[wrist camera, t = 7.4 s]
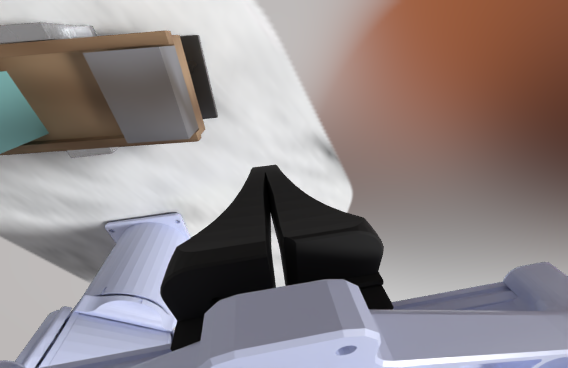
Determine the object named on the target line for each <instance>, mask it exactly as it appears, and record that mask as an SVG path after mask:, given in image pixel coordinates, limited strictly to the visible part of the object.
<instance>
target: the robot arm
mask: <svg viewBox="0 0 568 368" xmlns="http://www.w3.org/2000/svg"><path fill="white" fill-rule="evenodd" d="M270 212H271V214H270ZM271 216H272V220H273V224H274V228H275V232H276V236H277V239H278V243H279V248H280V253H281V259H282V266H283V272H284V279H285V286H283V287H277V288H276V284H275V276H274V268H273V260H272V250H271ZM176 220H179V221H176ZM105 229H106V230H107V232H108V233H109V234H110V236H111V237H112V238H113V240H114V241H115V243H116V245H115V246H114V248H113V249H112V251H111V253H110V254H109V256H108V257H107V259H106V260H105V262H104V264H103V265H102V267H101V268H100V270H99V271H98V273H97V274H96V276H95V278H94V279H93V281H92V282H91V284H90V285H89V287H88V289H87V290H86V292H85V293H84V295H83V296H82V298H81V299H80V301H79V302H78V303H77V305H76V306H75V307H74V309H73V310H72V311H71V309H72V308H71V307H67V306H64V307H62V308H61V309H60V310H56V311H54V312H52V313H50V314H49V315H48V316H47V317H46V319H45V320H44V322H43V323H42V324H41V326H40V327H39V328H38V330H37V331H36V333H35V334H34V335H33V337H32V338H31V340H30V341H29V342H28V344H27V345H26V347H25V348H24V349H23V351H22V352H21V354H20V355H19V356H18V358H17V359H16V360H15V362H14V361H6V360H3V361H0V368H568V276H567V275H565V274H564V273H563V272H561V271H560V270H559V269H557V268H556V267H554V266H553V265H552V264H550V263H549V262H541V263H535V264H530V265H525V266H520V267H517V268H514V269H513V270H511V271H510V272H509V273H508V274H507V275H506V276H505V278H504V280H503V282H498V283H493V284H487V285H482V286H477V287H471V288H466V289H461V290H455V291H450V292H445V293H439V294H434V295H428V296H423V297H417V298H412V299H407V300H401V301H396V302H391V301H390V299H389V298H388V296H387V294H386V292H385V290H384V288H383V287H382V285H383V279H382V277H381V276H380V274H379V272H378V270H379V266H380V262H381V259H382V255H383V248H384V246H383V244H382V241H381V239H380V238H379V237H378V235H377V233H376V232H375V231H374V229H373V228H372V227H371V225H370V224H369V223H368V222H367V221H366V220H365V219H364V218H362V217H359V216H356V215H352V214H349V213H345V212H342V211H340V210H337V209H335V208H332V207H330V206H327V205H325V204H323V203H321V202H319V201H317V200H315V199H314V198H312V197H310V196H309V195H307V194H306V193H304V192H303V191H302V190H300V189H299V188H298V187H297V186H295V185H294V184H293V183H292V182H291V181H290V180H289V179H288V178H287V177H286V176H285V175H284V174H283V173H282V171H281V170H280V169H279V167H278V166H277V165H269V166H262V167H254V168H252V169H251V172H250V174H249V176H248V178H247V180H246V182H245V184H244V186H243V188H242V189H241V191H240V192H239V194H238V195H237V197H236V198H235V199H234V201H233V202H232V203H231V204H230V206H229V207H228V208H227V209H226V210H225V211H224V212H223V213H222V214H221V215H220V216H219V217H218V218H217V219H216V220H214V221H213V222H212V223H211V224H210V225H208V226H207V227H206V228H204V229H203V230H202V231H200V232H199V233H198V234H196V235H195V236H193V237H190V235H189V233H188V230H187V228H186V226H185V223H184V221H183V219H182V217H181V215H180V214H178V213H173V214H165V215H158V216H151V217H144V218H137V219H130V220H123V221H116V222H109V223H107V224H106V225H105ZM70 311H71V312H70ZM175 326H176V328H175V330H172V329H173V328H174V327H175Z"/></svg>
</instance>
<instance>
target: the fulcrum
mask: <svg viewBox="0 0 568 368" xmlns="http://www.w3.org/2000/svg"><path fill="white" fill-rule="evenodd" d="M95 36H97V35H96V33H95V31H94V29H93V26H78V27H77V26H76V25H64V24H52V23H27V24H12V25H0V43H23V42H35V41H47V40H59V39H71V38H83V37H95ZM180 39H181V43H182V46H183V50H184V54H185V57H186V61H187V64H188V68H189V72H190V75H191V79H192V83H193V86H194V90H195V94H196V97H197V101H198V104H199V108H200V112H201V115H202V119H208V118H217V117H218V114H217V110H216V106H215V102H214V97H213V93H212V89H211V85H210V80H209V76H208V72H207V68H206V63H205V59H204V55H203V50H202V46H201V42H200V38H199V35H195V36H182V37H180ZM118 148H119V147H110V148H96V149H82V150H68V151H67V152H68V154H69V155H70V157H71V158H75V157H84V156H92V155H101V154H110V153H113V152H114V151H116V150H117V149H118Z"/></svg>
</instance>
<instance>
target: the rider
mask: <svg viewBox="0 0 568 368" xmlns="http://www.w3.org/2000/svg"><path fill="white" fill-rule="evenodd" d="M47 134H49V132H48V131H47V129H46V128H45V126H44V125H43V124H42V122H41V121H40V119H39V118H38V116H37V115H36V113H35V112H34V111H33V109H32V108H31V106H30V105H29V103H28V102H27V100H26V99H25V97H24V96H23V95H22V93H21V92H20V90H19V89H18V87H17V86H16V84H15V83H14V81H13V80H12V79H11V77H10V76H9V74H8V73H7V71H0V154H1V153H4V152H6V151H8V150H11V149H13V148H16V147H18V146H20V145H23V144H25V143H28V142H30V141H32V140H35V139H37V138H39V137H42V136H44V135H47Z"/></svg>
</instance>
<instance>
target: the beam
mask: <svg viewBox="0 0 568 368" xmlns="http://www.w3.org/2000/svg"><path fill="white" fill-rule="evenodd" d="M0 71H7V73H8V74H9V76H10V77H11V79H12V80H13V81H14V83H15V84H16V86H17V87H18V89H19V90H20V92H21V93H22V95H23V96H24V97H25V99H26V100H27V102H28V103H29V105H30V106H31V108H32V109H33V111H34V112H35V113H36V115H37V116H38V118H39V119H40V121H41V122H42V124H43V125H44V126H45V128H46V129H47V131H48V132H49V134H47V135H44V136H42V137H39V138H37V139H35V140H32V141H30V142H28V143H25V144H23V145H20V146H18V147H16V148H13V149H11V150H8V151H6V152H4V153H1V154H0V155H11V154H25V153H39V152H53V151H68V150H82V149H96V148H110V147H124V146H139V145H153V144H167V143H181V142H196V141H199V140H200V139H201V134H202V133H203V131H204V130H205V126H204V123H203V119H202V115H201V112H200V108H199V104H198V101H197V97H196V94H195V90H194V86H193V83H192V79H191V75H190V72H189V68H188V64H187V61H186V57H185V54H184V50H183V46H182V43H181V39H180V35H171V32H170V31H155V32H143V33H131V34H119V35H107V36H95V37H83V38H71V39H59V40H47V41H35V42H23V43H11V44H0Z"/></svg>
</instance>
